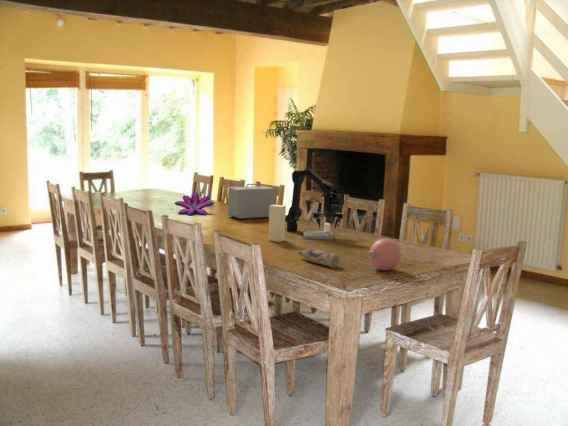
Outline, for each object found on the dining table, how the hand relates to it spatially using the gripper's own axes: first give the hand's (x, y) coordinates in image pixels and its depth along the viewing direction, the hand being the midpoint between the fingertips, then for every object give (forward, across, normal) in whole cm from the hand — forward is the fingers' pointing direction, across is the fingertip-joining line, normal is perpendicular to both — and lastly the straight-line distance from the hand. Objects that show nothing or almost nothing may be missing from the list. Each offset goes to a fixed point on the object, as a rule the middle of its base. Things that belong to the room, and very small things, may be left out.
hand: (327, 228), depth 367 cm
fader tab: (+3, 0, 0) cm, 3 cm away
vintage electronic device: (+5, -49, +69) cm, 85 cm away
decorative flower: (+5, -93, +82) cm, 124 cm away
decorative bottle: (+5, -10, -70) cm, 71 cm away
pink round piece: (+5, +18, -83) cm, 85 cm away
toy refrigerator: (+5, -32, -15) cm, 35 cm away
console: (+5, -6, 0) cm, 7 cm away
